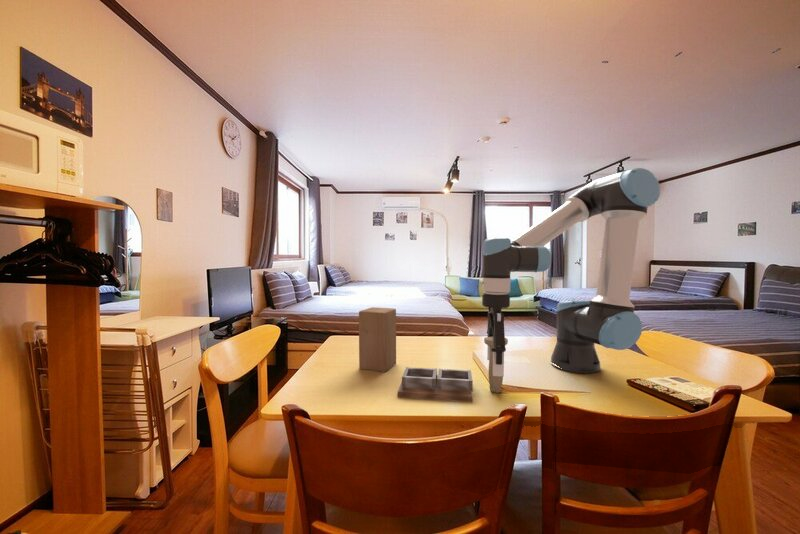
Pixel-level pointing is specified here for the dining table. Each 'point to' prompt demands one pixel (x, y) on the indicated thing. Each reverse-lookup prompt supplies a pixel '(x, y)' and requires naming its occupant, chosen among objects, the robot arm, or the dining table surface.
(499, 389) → the handle
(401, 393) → the grey double square tray
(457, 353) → the dining table surface
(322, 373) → the dining table surface
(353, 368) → the dining table surface
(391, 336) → the wooden block
